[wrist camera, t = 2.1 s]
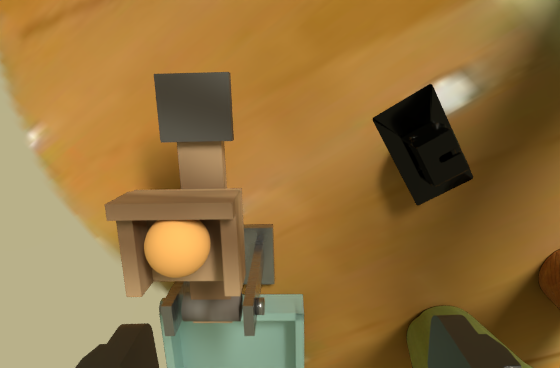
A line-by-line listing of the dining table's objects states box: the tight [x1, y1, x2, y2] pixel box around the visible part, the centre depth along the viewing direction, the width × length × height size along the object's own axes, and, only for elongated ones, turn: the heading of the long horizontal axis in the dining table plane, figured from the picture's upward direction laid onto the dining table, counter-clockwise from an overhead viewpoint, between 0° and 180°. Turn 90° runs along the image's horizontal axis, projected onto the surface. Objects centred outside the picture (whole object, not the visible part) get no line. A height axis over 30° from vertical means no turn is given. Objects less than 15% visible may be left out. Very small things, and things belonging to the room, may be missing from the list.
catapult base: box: [159, 224, 275, 336], centre depth 28 cm, size 6×8×11 cm
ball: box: [144, 220, 211, 278], centre depth 17 cm, size 3×3×3 cm
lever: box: [105, 72, 246, 323], centre depth 20 cm, size 17×6×8 cm, turn 1°
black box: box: [373, 84, 473, 205], centre depth 28 cm, size 12×7×5 cm, turn 31°
